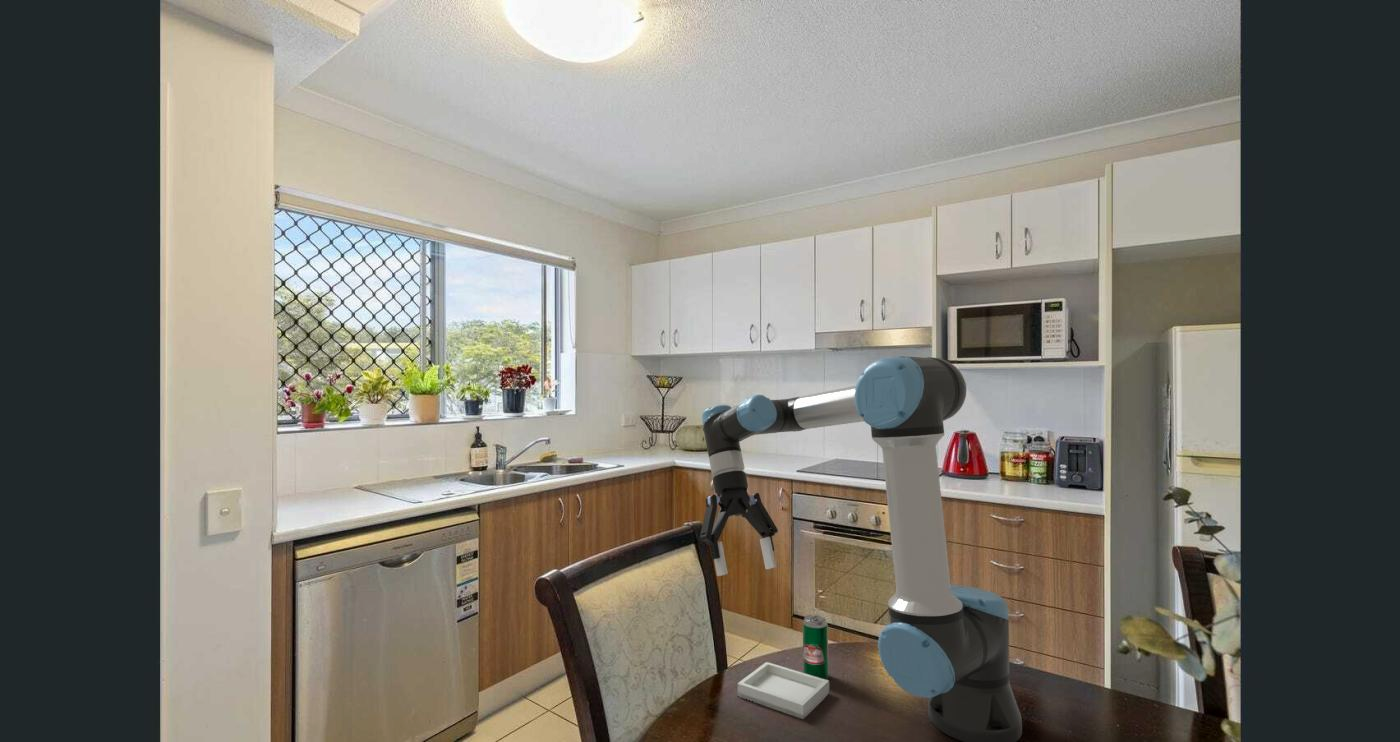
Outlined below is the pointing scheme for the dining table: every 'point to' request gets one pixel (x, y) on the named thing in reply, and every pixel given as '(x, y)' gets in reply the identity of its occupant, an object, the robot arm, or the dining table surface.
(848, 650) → the dining table surface
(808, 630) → the soda can
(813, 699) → the tray
